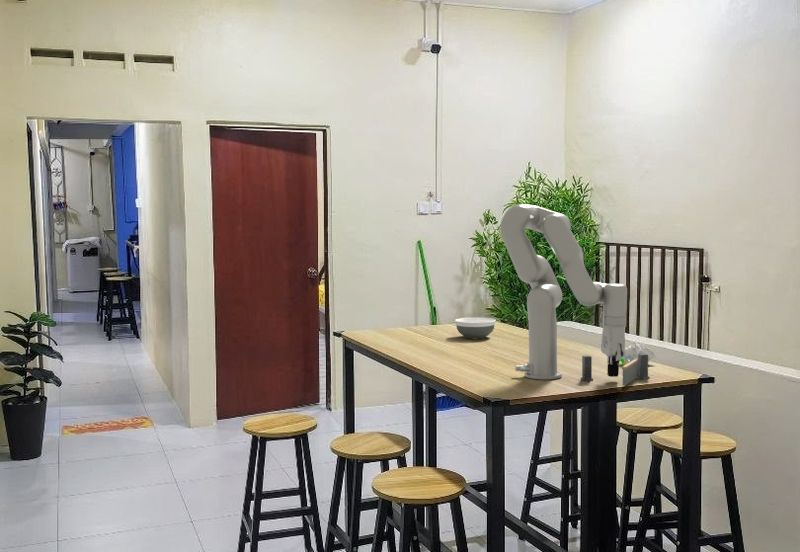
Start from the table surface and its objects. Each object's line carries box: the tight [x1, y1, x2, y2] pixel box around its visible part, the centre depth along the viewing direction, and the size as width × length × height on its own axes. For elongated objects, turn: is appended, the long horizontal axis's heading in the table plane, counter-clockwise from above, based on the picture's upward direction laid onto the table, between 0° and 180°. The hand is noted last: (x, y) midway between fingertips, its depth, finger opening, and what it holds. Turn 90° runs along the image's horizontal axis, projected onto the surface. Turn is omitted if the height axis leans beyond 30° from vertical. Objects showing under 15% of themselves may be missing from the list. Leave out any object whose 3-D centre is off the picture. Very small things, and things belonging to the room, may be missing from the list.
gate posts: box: [580, 353, 650, 382], centre depth 267 cm, size 23×3×8 cm, turn 96°
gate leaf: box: [621, 359, 639, 386], centre depth 262 cm, size 16×1×6 cm, turn 149°
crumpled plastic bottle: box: [620, 340, 657, 366], centre depth 290 cm, size 12×9×10 cm
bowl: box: [454, 316, 497, 339], centre depth 363 cm, size 19×19×8 cm
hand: (612, 375), depth 263 cm, fingers closed
